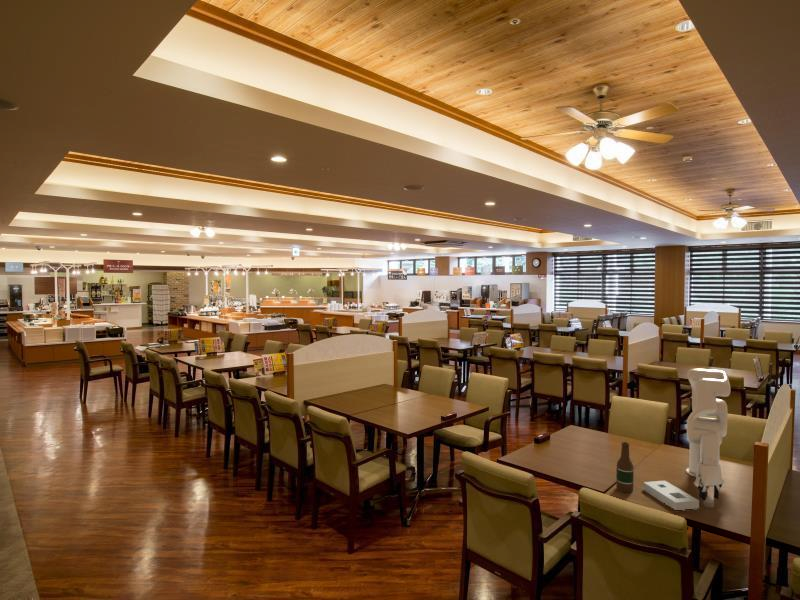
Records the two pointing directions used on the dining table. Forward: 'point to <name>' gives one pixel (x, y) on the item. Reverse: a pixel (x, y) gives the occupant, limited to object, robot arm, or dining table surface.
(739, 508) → the dining table surface
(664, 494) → the manifold block
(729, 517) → the dining table surface
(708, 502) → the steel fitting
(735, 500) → the dining table surface
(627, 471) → the beer bottle
